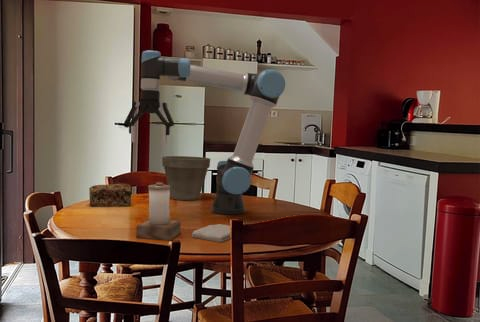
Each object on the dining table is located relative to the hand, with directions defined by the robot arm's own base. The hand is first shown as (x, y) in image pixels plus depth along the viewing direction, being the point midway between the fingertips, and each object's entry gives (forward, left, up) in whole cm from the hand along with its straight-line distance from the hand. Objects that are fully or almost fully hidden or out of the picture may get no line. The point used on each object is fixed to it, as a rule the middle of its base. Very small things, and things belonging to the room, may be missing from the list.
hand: (148, 142), depth 192 cm
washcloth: (-34, +22, -31) cm, 51 cm away
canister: (-14, +28, -26) cm, 41 cm away
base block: (-14, +28, -31) cm, 44 cm away
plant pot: (-2, -54, -31) cm, 62 cm away
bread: (+25, -22, -31) cm, 46 cm away
